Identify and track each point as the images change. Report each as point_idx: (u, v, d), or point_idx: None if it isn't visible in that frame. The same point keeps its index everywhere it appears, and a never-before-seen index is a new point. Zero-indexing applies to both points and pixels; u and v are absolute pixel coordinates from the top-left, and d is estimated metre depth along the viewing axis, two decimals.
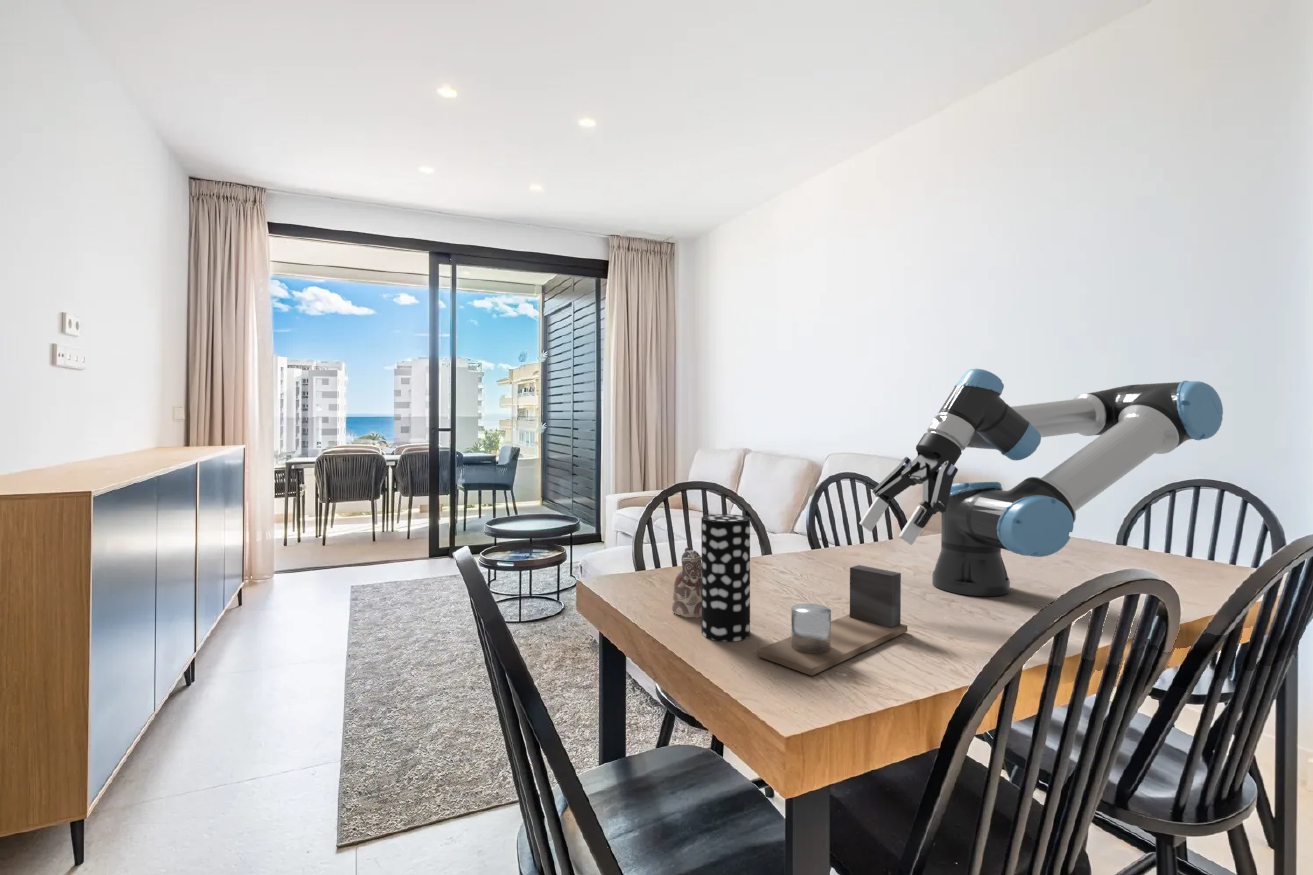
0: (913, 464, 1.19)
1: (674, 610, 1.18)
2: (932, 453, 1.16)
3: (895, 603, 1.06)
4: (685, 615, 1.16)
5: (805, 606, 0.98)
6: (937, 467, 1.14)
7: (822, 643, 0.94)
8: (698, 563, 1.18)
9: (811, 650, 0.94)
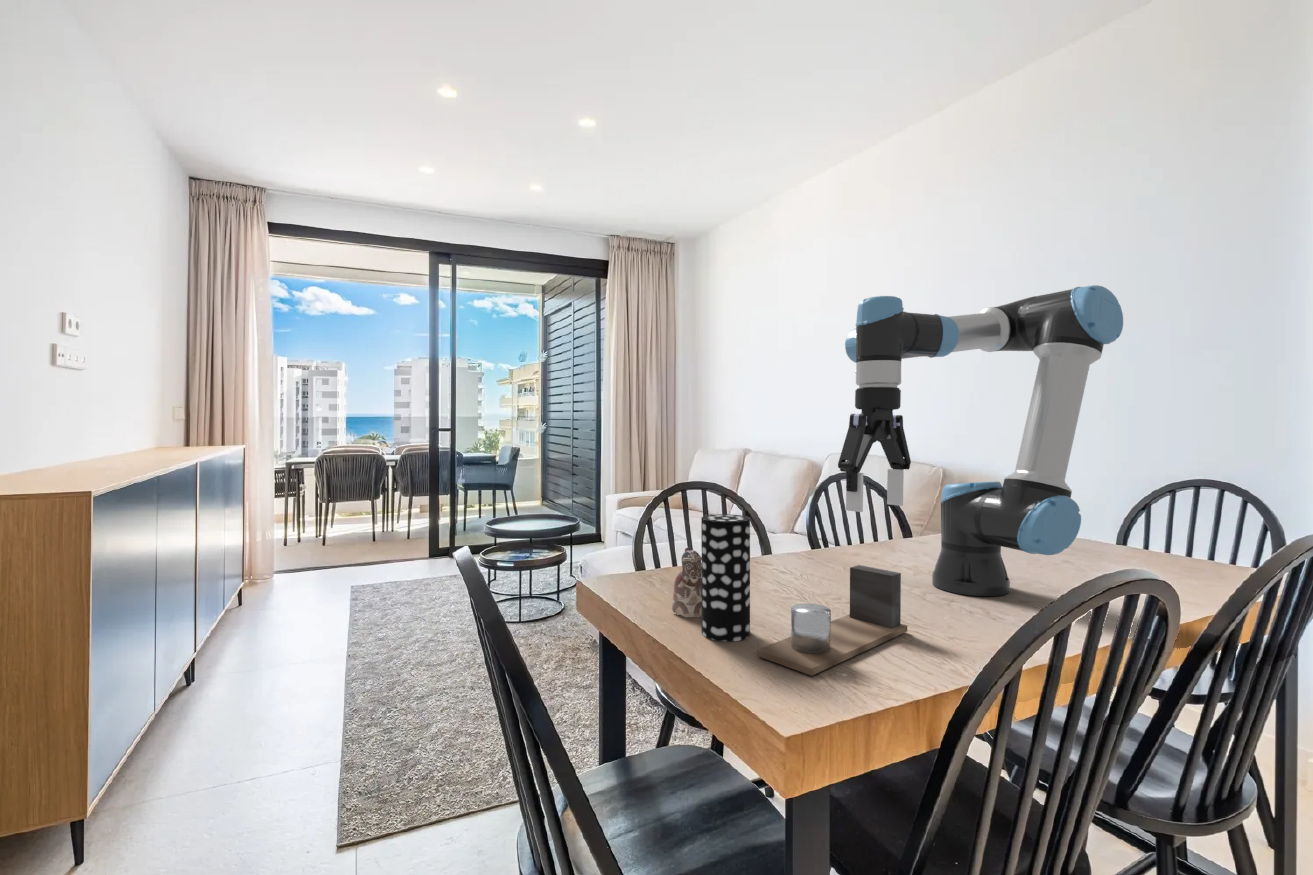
0: None
1: (674, 610, 1.18)
2: None
3: (895, 603, 1.06)
4: (685, 615, 1.16)
5: (805, 606, 0.98)
6: None
7: (822, 643, 0.94)
8: (698, 563, 1.18)
9: (811, 650, 0.94)
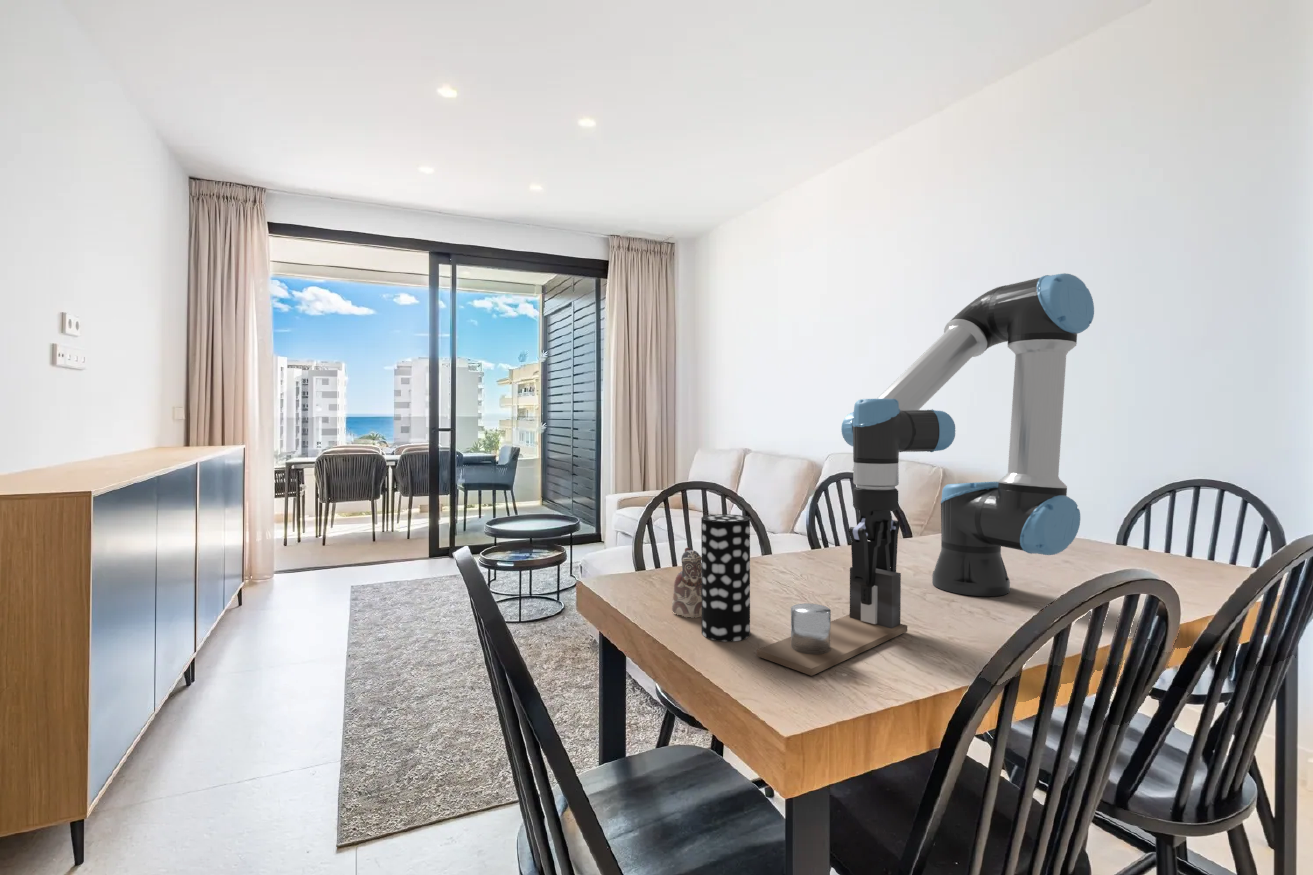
0: None
1: (674, 610, 1.18)
2: None
3: (895, 604, 1.06)
4: (685, 615, 1.16)
5: (805, 606, 0.98)
6: (858, 524, 1.07)
7: (822, 643, 0.94)
8: (698, 563, 1.18)
9: (811, 650, 0.94)
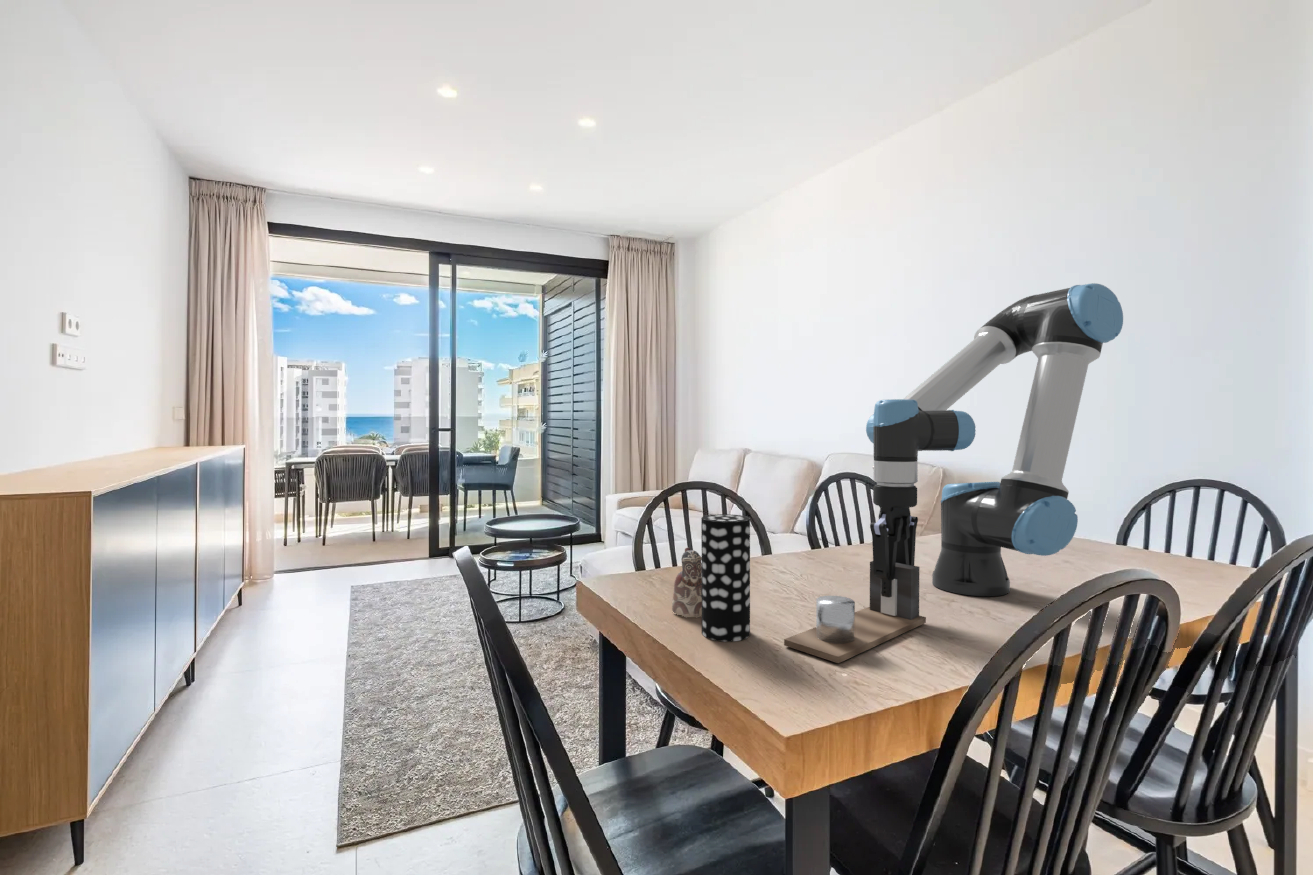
0: None
1: (674, 610, 1.18)
2: None
3: (914, 596, 1.10)
4: (685, 615, 1.16)
5: (829, 598, 1.03)
6: (879, 519, 1.11)
7: (847, 633, 0.99)
8: (698, 563, 1.18)
9: (836, 640, 0.98)
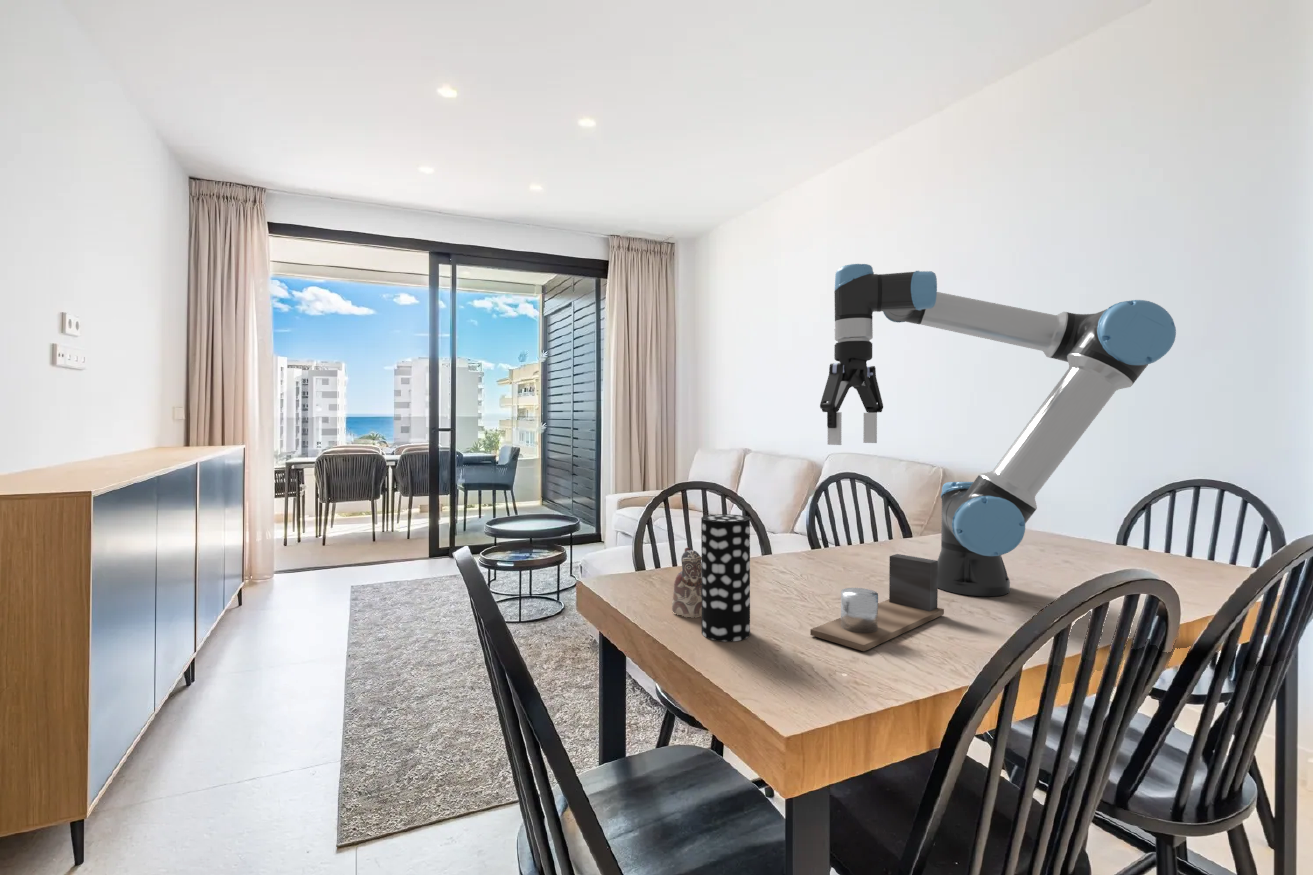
0: None
1: (674, 610, 1.18)
2: None
3: (932, 589, 1.15)
4: (685, 615, 1.16)
5: (853, 590, 1.07)
6: None
7: (871, 623, 1.03)
8: (698, 563, 1.18)
9: (861, 629, 1.03)
